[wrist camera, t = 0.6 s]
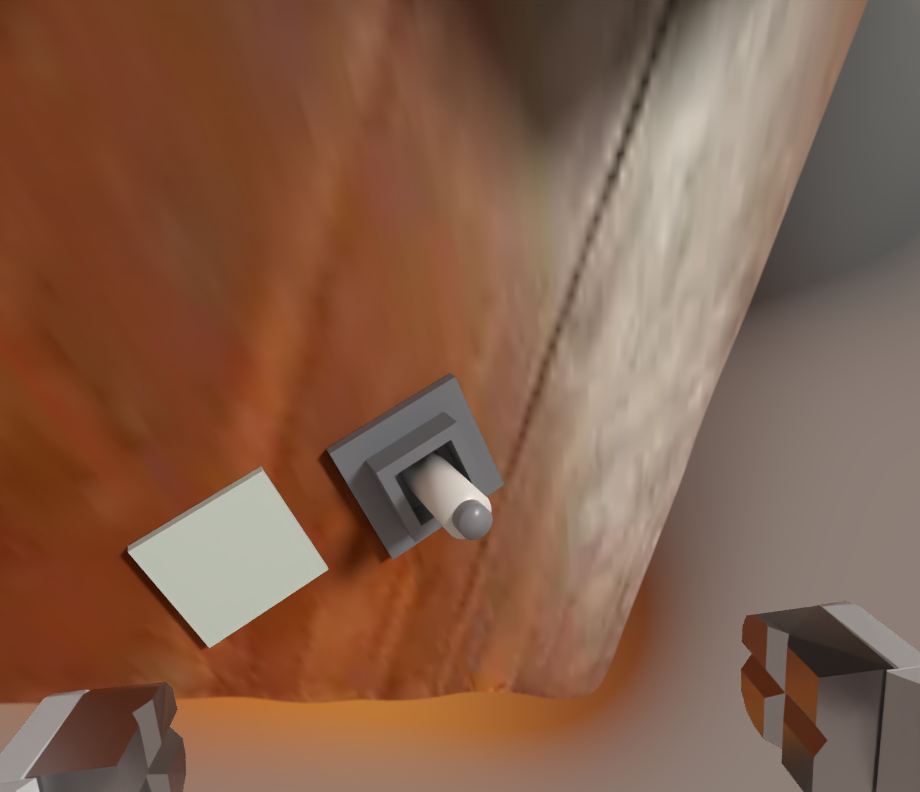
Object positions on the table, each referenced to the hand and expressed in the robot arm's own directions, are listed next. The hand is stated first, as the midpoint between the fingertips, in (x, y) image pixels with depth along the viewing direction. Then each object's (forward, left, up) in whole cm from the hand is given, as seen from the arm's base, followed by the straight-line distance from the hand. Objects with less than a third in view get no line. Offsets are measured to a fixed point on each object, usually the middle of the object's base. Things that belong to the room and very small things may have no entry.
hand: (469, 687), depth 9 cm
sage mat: (+18, -8, -38) cm, 43 cm away
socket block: (+20, +7, -38) cm, 44 cm away
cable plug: (+20, +7, -37) cm, 43 cm away
